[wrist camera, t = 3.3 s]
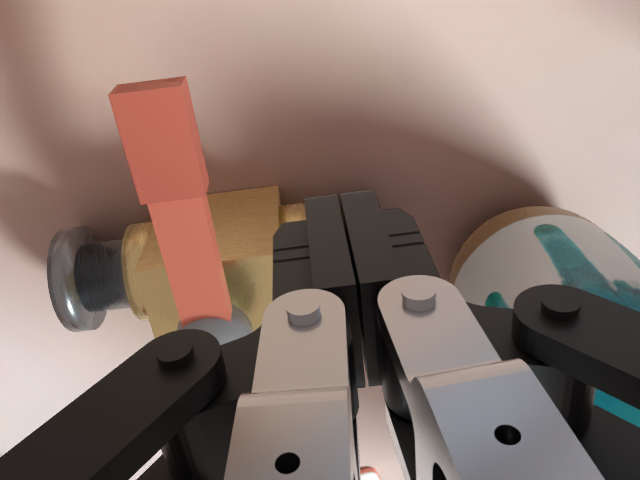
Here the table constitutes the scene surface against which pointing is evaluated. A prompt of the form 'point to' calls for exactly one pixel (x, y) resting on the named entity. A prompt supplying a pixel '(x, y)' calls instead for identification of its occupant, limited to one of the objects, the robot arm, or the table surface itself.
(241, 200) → the valve pipe
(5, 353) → the table surface
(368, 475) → the cell phone
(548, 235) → the vase
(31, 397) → the table surface
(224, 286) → the lever
